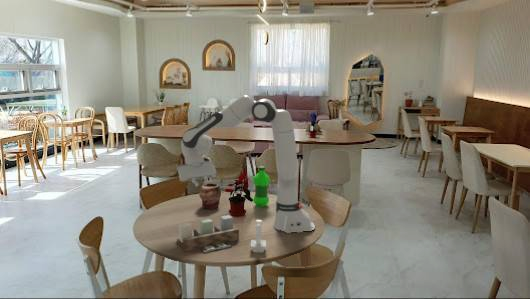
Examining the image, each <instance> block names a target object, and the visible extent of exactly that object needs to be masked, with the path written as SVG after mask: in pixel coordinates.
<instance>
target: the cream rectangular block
mask: <svg viewBox="0 0 530 299" xmlns="http://www.w3.org/2000/svg"><path fill="white" fill-rule="evenodd" d="M192 230H193V229H192V224H191V223H190V222H184V223H179V224H178V239H179V240H180V241H181V243H183V239H185V238H190V237H192V236H193V235H192V234H193V233H192Z"/></svg>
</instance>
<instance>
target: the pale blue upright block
mask: <svg viewBox="0 0 530 299" xmlns="http://www.w3.org/2000/svg"><path fill="white" fill-rule="evenodd" d="M233 221H234V217H233V216H232V215H230V214H228V215H223V216H220V229H221V230H222V231H225V230H230V229H234V226H233V225H234V222H233Z"/></svg>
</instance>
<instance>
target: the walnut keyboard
mask: <svg viewBox="0 0 530 299" xmlns="http://www.w3.org/2000/svg"><path fill="white" fill-rule="evenodd" d="M239 240H240V229H239V228H238V227H235V228H233V229H230V230H225V231H222V230H221V227H219V226H217V225H214V226H213V233H210V234H205V235H201V234H200V232H199V231H198V230H197V229H193V235H192V237H190V238H185V239H183V243H181V241H180V240H179V238H176V244H178V245H179V247H180V248H181V249H182V250H183V251H184V252H189V251H193V250H200V251H201V252H202V253H203V254H207V253H211V252H216V251H220V250H225V249H229V248H232V245H231V244H230V243H229V242H235V241H239Z"/></svg>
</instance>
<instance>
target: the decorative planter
mask: <svg viewBox="0 0 530 299" xmlns="http://www.w3.org/2000/svg"><path fill="white" fill-rule="evenodd" d="M198 195H199V198H200V199H201V205H202V206H201V207H202V208H204V209H209V210H210V209H211V210H213V209H217V208H218V207H219V205H220V200H221V196H222V191H221V187H220V185H219V184H217V183H212V182H211V183H210V182H209V183H207V185H201V190H200V191H199V194H198Z"/></svg>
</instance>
